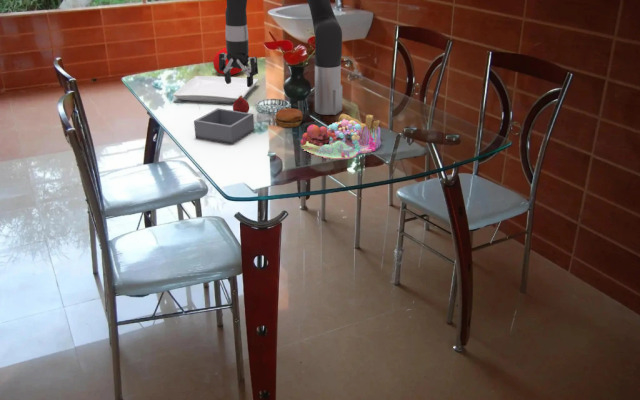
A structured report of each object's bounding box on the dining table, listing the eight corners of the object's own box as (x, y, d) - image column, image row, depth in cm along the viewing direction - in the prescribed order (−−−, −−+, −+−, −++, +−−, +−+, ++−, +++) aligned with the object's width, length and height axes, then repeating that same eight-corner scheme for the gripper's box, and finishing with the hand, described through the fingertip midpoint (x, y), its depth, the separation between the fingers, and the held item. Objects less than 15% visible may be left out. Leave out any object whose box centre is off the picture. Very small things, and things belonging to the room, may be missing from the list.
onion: (246, 120, 225) (245, 98, 222) (231, 119, 226) (229, 97, 223) (251, 115, 230) (250, 93, 227) (236, 114, 231) (235, 92, 228)
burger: (288, 130, 217) (288, 116, 215) (269, 123, 223) (269, 110, 221) (309, 123, 223) (309, 110, 221) (290, 117, 229) (290, 104, 227)
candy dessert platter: (322, 128, 219) (322, 102, 215) (388, 137, 212) (390, 110, 207) (293, 154, 198) (292, 126, 194) (365, 165, 191) (366, 136, 187)
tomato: (219, 84, 275) (245, 79, 283) (226, 63, 266) (253, 59, 273) (206, 63, 280) (232, 59, 287) (212, 41, 270) (240, 38, 278)
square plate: (242, 107, 239) (241, 97, 238) (172, 103, 243) (171, 94, 242) (259, 86, 263) (259, 77, 262) (195, 83, 267) (195, 74, 265)
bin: (254, 130, 216) (253, 113, 213) (232, 144, 205) (230, 127, 202) (219, 124, 221) (217, 108, 219) (195, 138, 210) (193, 120, 207)
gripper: (261, 38, 216) (262, 85, 223) (225, 33, 221) (227, 79, 229) (249, 42, 210) (251, 90, 217) (212, 38, 215) (215, 85, 223)
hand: (239, 84), depth 223 cm, fingers open, 8 cm apart
